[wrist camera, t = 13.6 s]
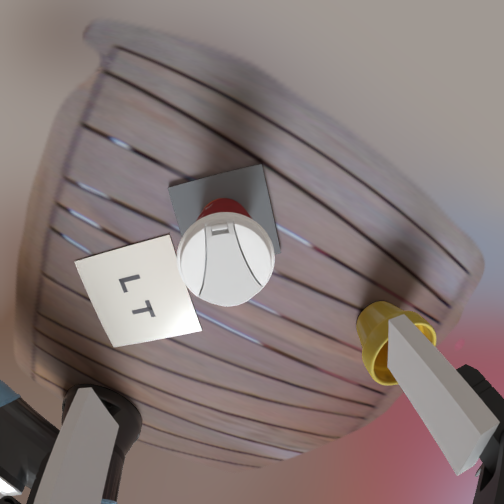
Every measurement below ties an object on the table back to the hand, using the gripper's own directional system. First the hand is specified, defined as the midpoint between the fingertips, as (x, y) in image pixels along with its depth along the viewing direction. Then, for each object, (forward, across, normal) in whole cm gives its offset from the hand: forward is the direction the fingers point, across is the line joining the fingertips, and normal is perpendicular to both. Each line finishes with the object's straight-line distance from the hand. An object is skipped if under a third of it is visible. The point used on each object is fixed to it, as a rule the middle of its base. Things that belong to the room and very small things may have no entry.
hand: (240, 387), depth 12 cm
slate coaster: (+27, 0, 0) cm, 27 cm away
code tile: (+27, -14, -6) cm, 31 cm away
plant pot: (+27, +18, -20) cm, 38 cm away
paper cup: (+26, 0, 0) cm, 26 cm away
